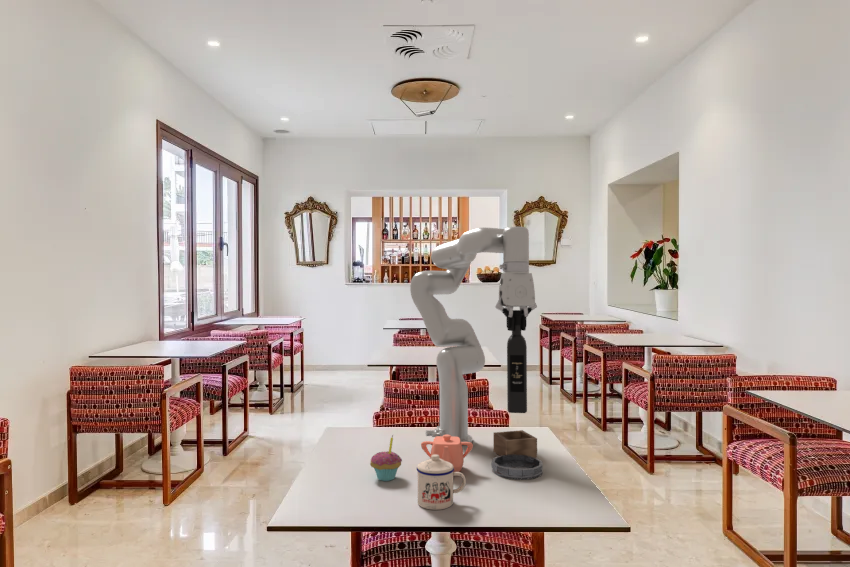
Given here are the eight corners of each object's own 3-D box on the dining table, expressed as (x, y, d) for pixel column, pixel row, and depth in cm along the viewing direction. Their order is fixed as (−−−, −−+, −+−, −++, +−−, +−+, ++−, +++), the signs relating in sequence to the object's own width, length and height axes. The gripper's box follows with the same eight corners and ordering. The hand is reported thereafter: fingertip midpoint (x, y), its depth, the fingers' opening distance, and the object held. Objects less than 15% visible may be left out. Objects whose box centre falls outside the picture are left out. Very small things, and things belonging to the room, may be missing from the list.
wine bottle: (527, 413, 167) (526, 310, 167) (507, 413, 168) (506, 310, 168) (526, 409, 173) (525, 309, 173) (507, 409, 174) (506, 309, 174)
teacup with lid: (418, 511, 134) (418, 461, 134) (414, 497, 143) (414, 450, 143) (469, 509, 135) (469, 460, 135) (462, 494, 144) (462, 448, 144)
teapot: (415, 467, 165) (415, 432, 165) (447, 460, 172) (447, 426, 172) (445, 482, 154) (445, 444, 154) (479, 473, 161) (479, 437, 161)
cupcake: (406, 474, 159) (406, 431, 159) (394, 485, 151) (394, 439, 151) (377, 471, 162) (377, 429, 162) (364, 481, 154) (364, 436, 154)
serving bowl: (504, 481, 154) (504, 472, 154) (484, 465, 167) (484, 456, 167) (551, 476, 158) (551, 467, 158) (528, 461, 171) (528, 452, 171)
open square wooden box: (506, 461, 172) (506, 441, 171) (493, 451, 181) (493, 432, 181) (537, 458, 174) (537, 438, 174) (522, 448, 184) (522, 430, 184)
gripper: (496, 268, 164) (496, 332, 164) (546, 268, 170) (547, 330, 170) (485, 268, 172) (486, 330, 172) (534, 269, 177) (534, 328, 177)
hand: (516, 329), depth 171 cm, fingers closed on wine bottle, 3 cm apart
